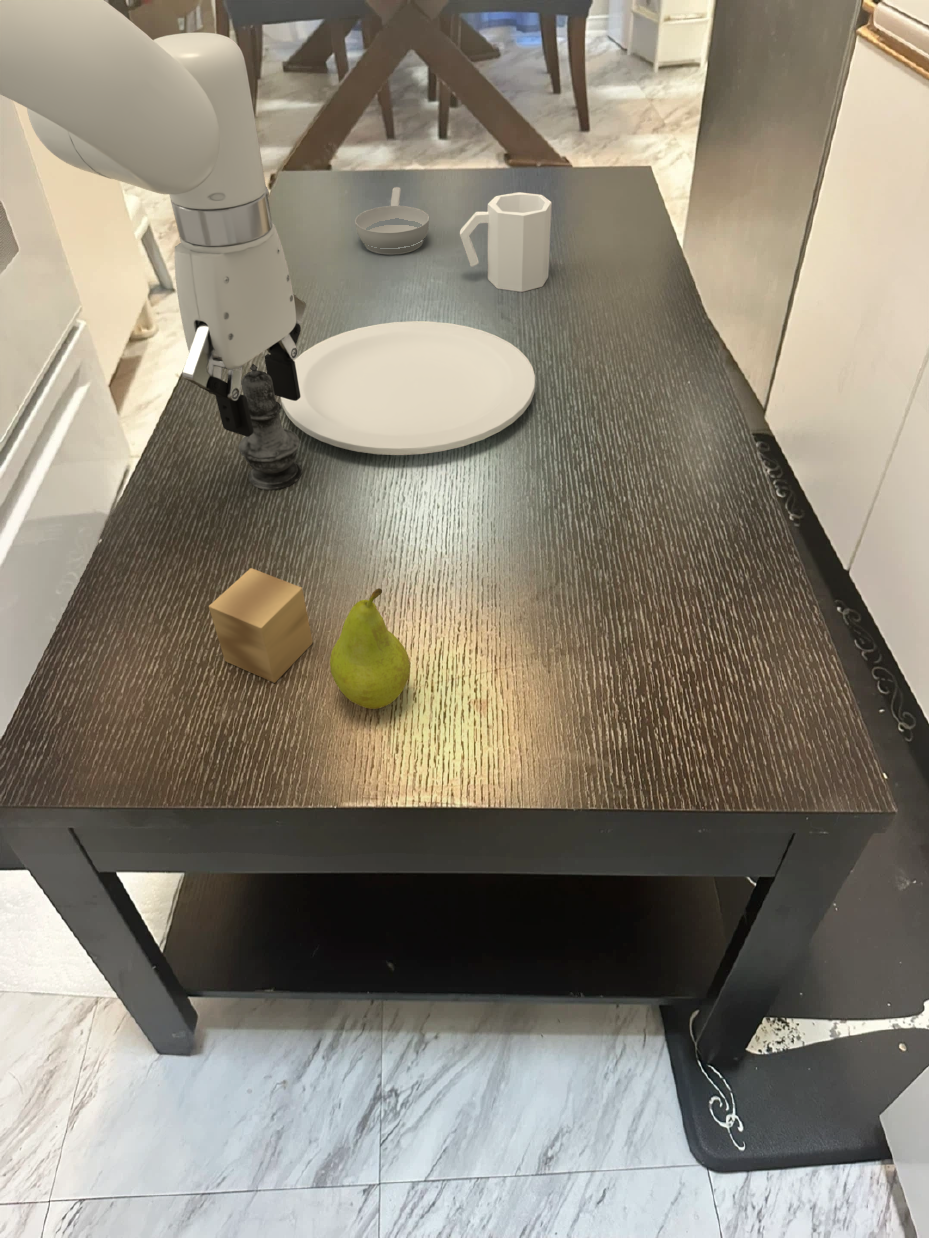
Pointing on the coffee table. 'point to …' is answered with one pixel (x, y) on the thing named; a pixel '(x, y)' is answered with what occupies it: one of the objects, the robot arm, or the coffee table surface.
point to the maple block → (262, 624)
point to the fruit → (369, 658)
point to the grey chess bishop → (268, 436)
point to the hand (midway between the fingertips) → (262, 412)
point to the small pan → (392, 227)
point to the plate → (410, 388)
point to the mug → (514, 240)
